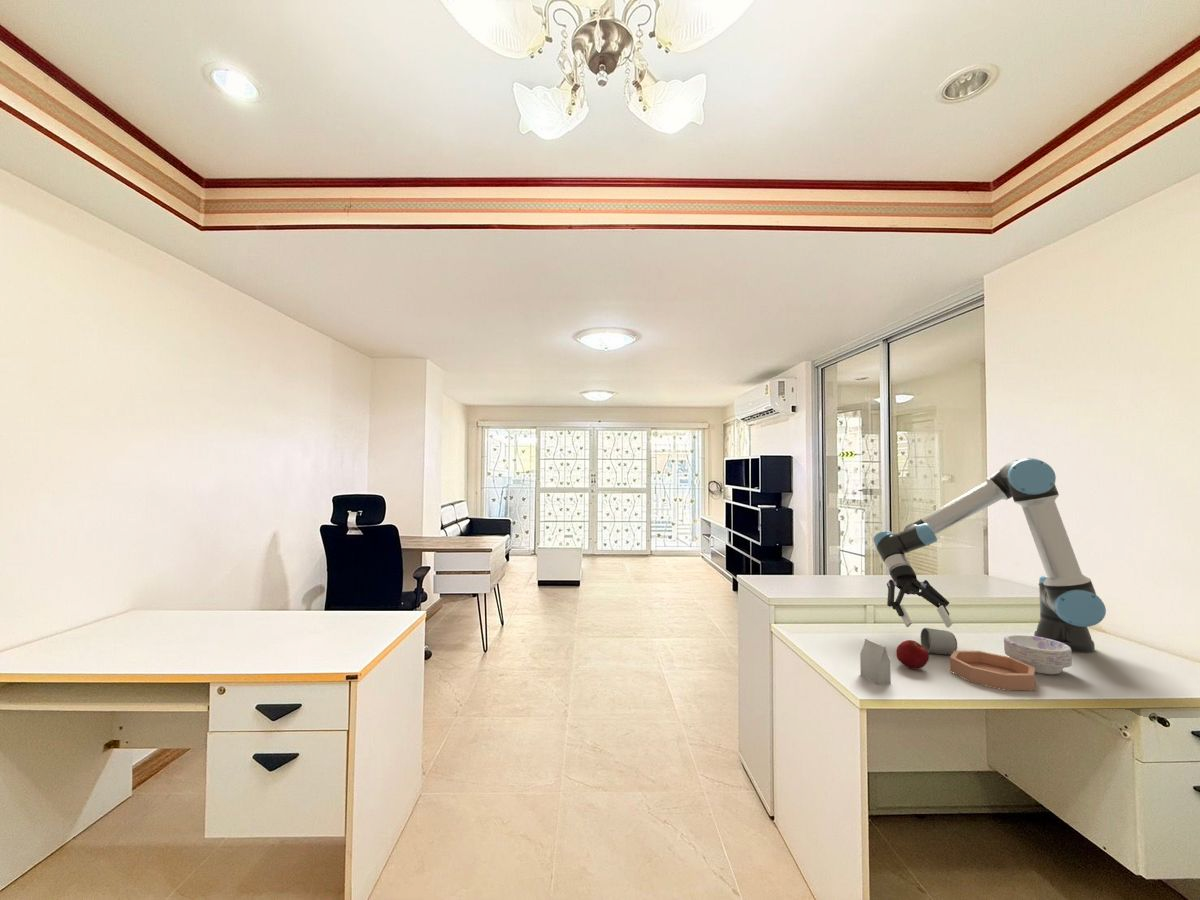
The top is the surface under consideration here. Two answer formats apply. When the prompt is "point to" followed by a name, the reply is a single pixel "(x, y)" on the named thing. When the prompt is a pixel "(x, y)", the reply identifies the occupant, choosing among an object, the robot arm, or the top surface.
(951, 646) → the ceramic mug
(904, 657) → the apple
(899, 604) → the robot arm
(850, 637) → the top surface
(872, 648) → the tea bag
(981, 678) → the terracotta bowl
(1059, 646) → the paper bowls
